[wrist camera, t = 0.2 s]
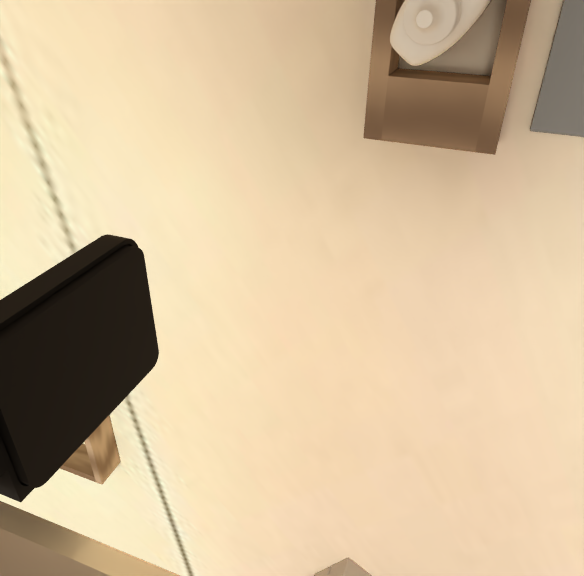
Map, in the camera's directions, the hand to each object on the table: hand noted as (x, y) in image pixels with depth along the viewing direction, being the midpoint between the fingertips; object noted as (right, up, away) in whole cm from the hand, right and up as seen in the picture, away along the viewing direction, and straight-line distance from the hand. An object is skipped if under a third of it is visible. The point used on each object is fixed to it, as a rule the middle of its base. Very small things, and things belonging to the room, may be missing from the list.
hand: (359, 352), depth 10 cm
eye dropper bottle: (+9, +19, +22) cm, 30 cm away
